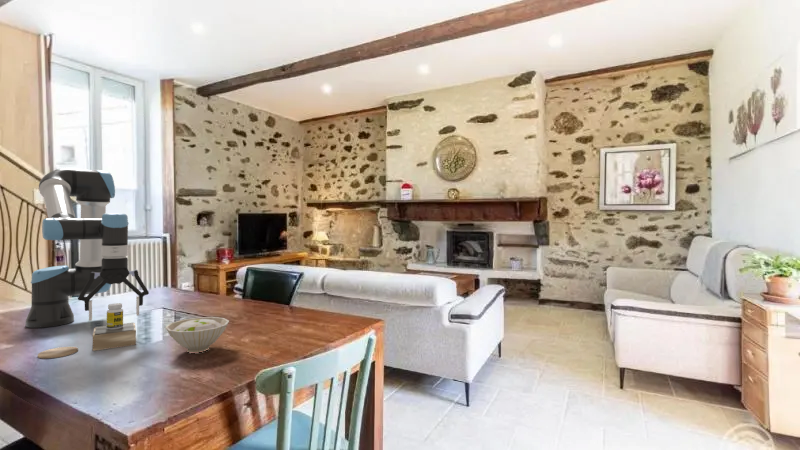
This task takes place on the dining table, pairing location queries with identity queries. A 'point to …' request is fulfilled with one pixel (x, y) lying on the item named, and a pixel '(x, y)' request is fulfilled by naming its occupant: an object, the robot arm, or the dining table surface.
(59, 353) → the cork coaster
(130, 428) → the dining table surface
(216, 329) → the bowl
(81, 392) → the dining table surface
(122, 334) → the beech block
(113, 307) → the supplement bottle
